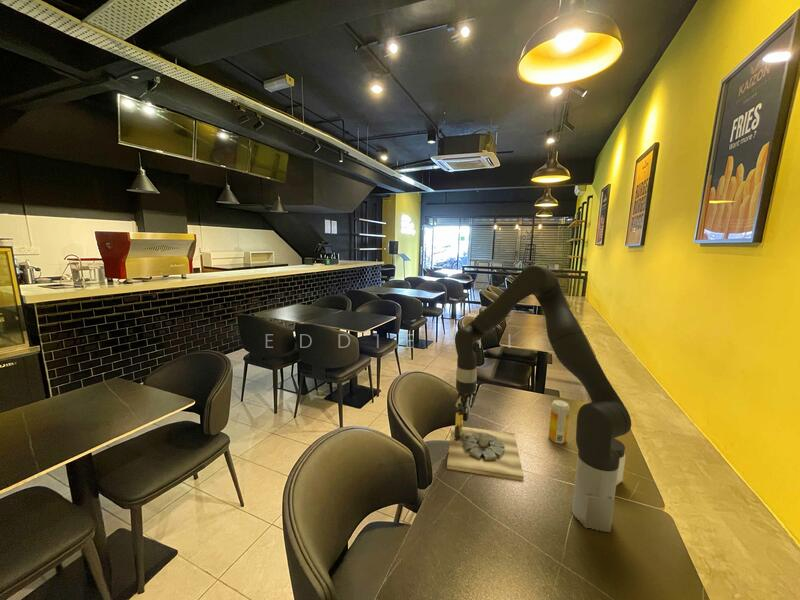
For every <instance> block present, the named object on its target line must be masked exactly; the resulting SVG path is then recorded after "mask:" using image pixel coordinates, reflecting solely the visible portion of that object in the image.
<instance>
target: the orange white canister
mask: <svg viewBox="0 0 800 600" xmlns="http://www.w3.org/2000/svg"><path fill="white" fill-rule="evenodd" d="M550 406H551V407H550V416H549V417H550V418H549V429H548V438H550V440H551V441H552V442H553V443H555V444H561V445H562V444H565V443H566V442H567V438H568V429H569V428H568V426H569V417H570V411H571V410H570V409H571V407H570V403H568V402H567V401H564V400H562V399H554V400H553V401H552V402H551V405H550Z"/></svg>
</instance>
